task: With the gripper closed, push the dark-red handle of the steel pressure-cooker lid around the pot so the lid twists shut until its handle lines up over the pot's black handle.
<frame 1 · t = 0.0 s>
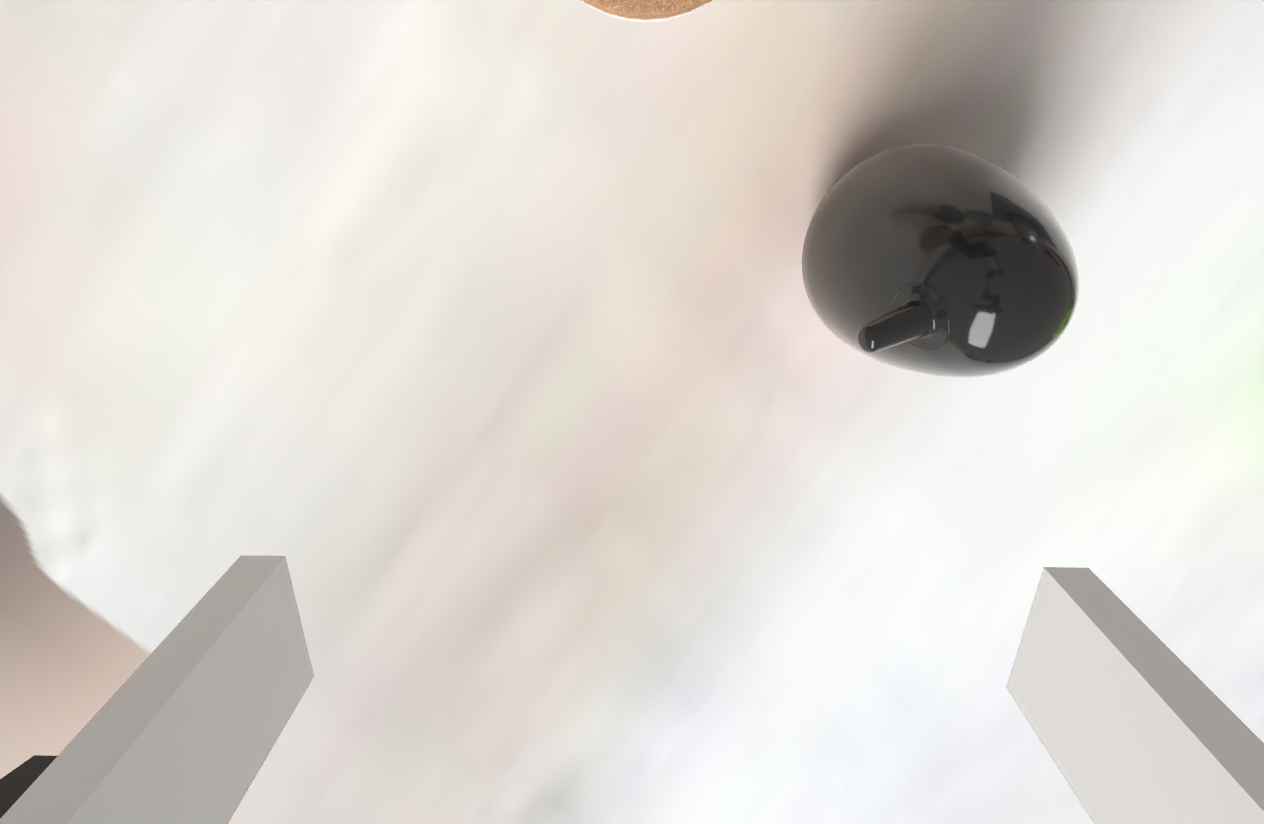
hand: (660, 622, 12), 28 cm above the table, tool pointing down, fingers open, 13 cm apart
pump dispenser: (877, 241, 37), on the table
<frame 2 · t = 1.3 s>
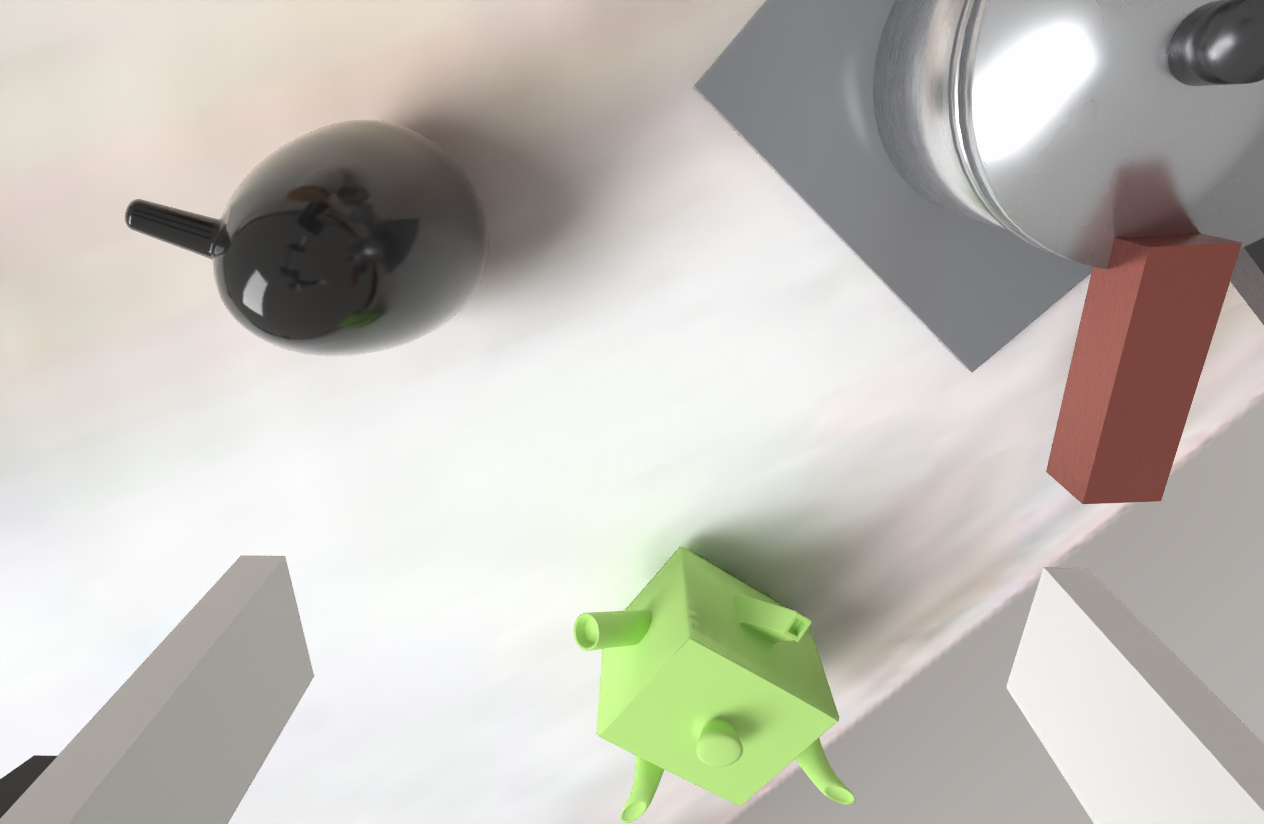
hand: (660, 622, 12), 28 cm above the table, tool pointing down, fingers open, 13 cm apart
trivet: (1011, 67, 33), on the table
pot: (1022, 66, 32), resting on trivet
lid: (1178, 188, 23), point 13 cm above the table, hinge at -45.0°
kettle: (701, 619, 47), on the table
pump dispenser: (407, 220, 36), on the table
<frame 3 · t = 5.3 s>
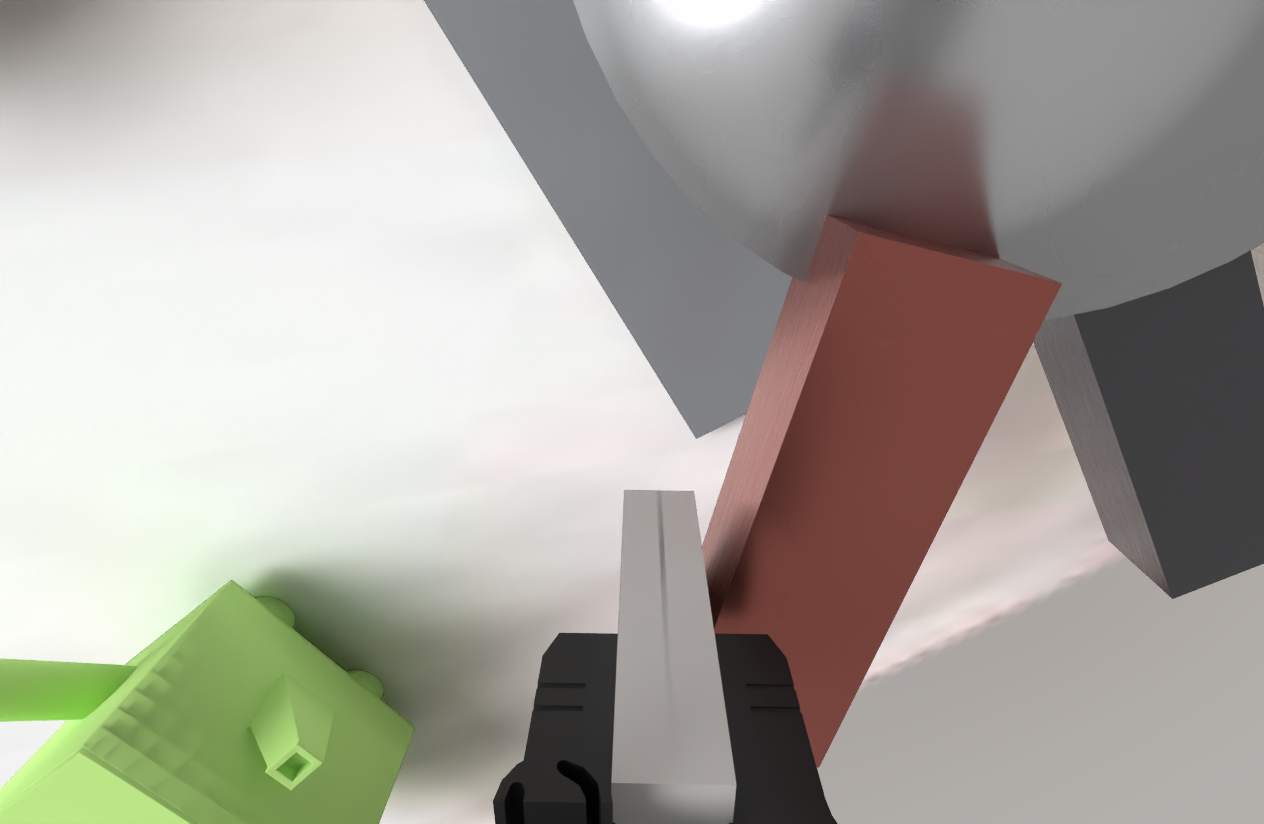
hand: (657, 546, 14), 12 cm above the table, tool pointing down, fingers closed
lid: (968, 130, 10), point 13 cm above the table, hinge at -44.2°, touching gripper
kettle: (277, 686, 32), on the table
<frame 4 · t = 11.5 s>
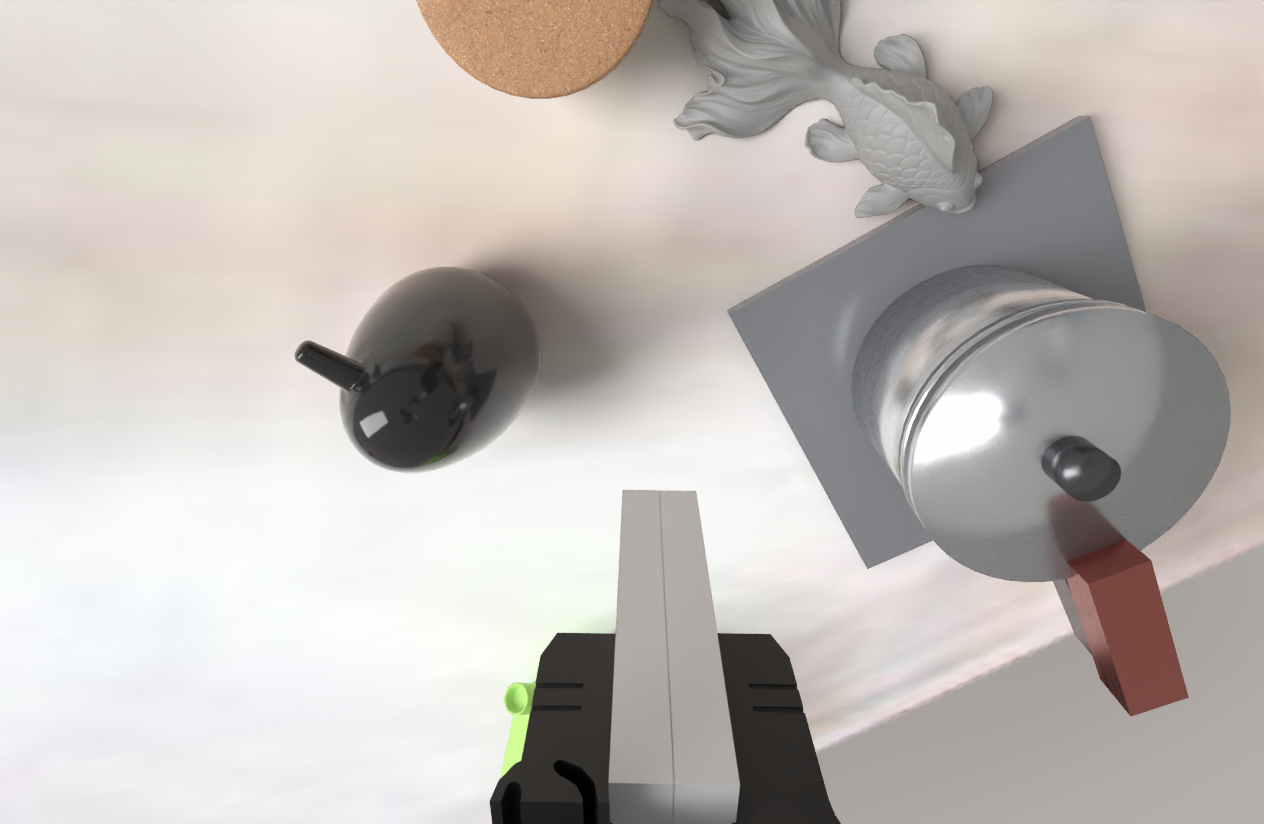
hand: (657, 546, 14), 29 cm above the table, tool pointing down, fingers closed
goldfish: (827, 74, 37), on the table
trivet: (955, 369, 43), on the table
pot: (962, 375, 42), resting on trivet
lid: (1093, 530, 33), point 13 cm above the table, hinge at -2.3°
kettle: (601, 695, 56), on the table
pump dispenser: (469, 332, 43), on the table
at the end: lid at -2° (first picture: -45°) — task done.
